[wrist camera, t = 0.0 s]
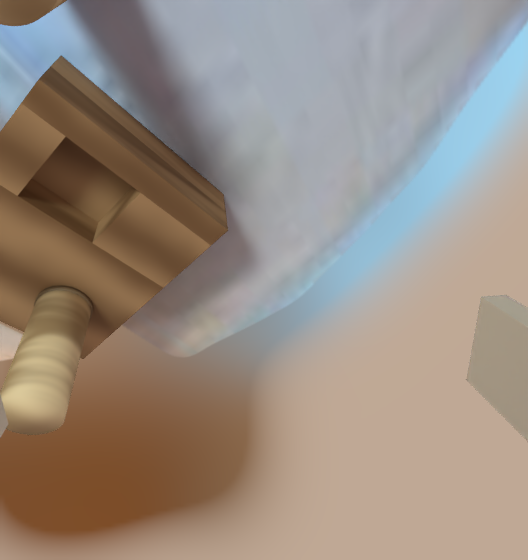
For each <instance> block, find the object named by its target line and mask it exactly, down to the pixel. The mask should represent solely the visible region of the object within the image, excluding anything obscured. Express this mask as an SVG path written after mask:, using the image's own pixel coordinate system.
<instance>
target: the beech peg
mask: <svg viewBox="0 0 528 560" xmlns="http://www.w3.org/2000/svg"><path fill="white" fill-rule="evenodd" d="M65 1H67V0H0V24H2V25H8V26H22V25H27V24H30V23H32V22H35V21H36V20H38V19H40V18H41V17H43V16H44V15H46V14H47V13H49V12H50V11H52V10H53V9H55V8H56V7H58V6H59V5H61V4H62V3H64V2H65Z"/></svg>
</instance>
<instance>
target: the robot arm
mask: <svg viewBox="0 0 528 560" xmlns="http://www.w3.org/2000/svg"><path fill="white" fill-rule="evenodd" d="M467 381H468V382H469V383H470V384H471V385H472V386H473V387H474V388H475V389H476V390H477V391H478V392H479V393H480V394H481V395H482V396H483V397H484V398H485V399H486V400H487V401H488V402H489V403H490V404H491V405H492V406H493V407H494V408H495V409H496V410H497V411H498V412H499V413H500V414H501V415H502V416H503V417H504V418H505V419H506V420H507V421H508V422H509V423H510V424H511V425H512V426H513V427H514V428H515V429H516V430H517V431H518V432H519V433H520V434H521V435H522V436H523V437H524V438H525V439H526V440H527V441H528V308H527V307H526V306H524V305H522V304H521V303H519V302H517V301H516V300H514V299H512V298H510V297H509V296H507V295H500V296H487V297H481V301H480V306H479V312H478V318H477V323H476V329H475V334H474V340H473V346H472V351H471V357H470V363H469V368H468V374H467ZM7 426H8V420H7V417H6V413H5V409H4V406H3V402H2V398H1V395H0V437H1V435H2V434H3V432H4V430H5V429H6V427H7Z"/></svg>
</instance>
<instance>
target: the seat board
mask: <svg viewBox="0 0 528 560" xmlns="http://www.w3.org/2000/svg"><path fill="white" fill-rule="evenodd" d="M227 231H228V226H227V218H226V211H225V203H224V195H223V194H222V193H221V192H220V191H219V190H218V189H217V188H215V187H214V186H213V185H212V184H211V183H210V182H208V181H207V180H206V179H205V178H204V177H203V176H201V175H200V174H199V173H198V172H197V171H196V170H194V169H193V168H192V167H191V166H190V165H189V164H187V163H186V162H185V161H184V160H183V159H182V158H180V157H179V156H178V155H177V154H176V153H175V152H173V151H172V150H171V149H170V148H169V147H168V146H166V145H165V144H164V143H163V142H162V141H161V140H159V139H158V138H157V137H156V136H155V135H154V134H152V133H151V132H150V131H149V130H148V129H147V128H145V127H144V126H143V125H142V124H141V123H139V122H138V121H137V120H136V119H135V118H134V117H132V116H131V115H130V114H129V113H128V112H127V111H125V110H124V109H123V108H122V107H121V106H120V105H118V104H117V103H116V102H115V101H114V100H113V99H111V98H110V97H109V96H108V95H107V94H106V93H104V92H103V91H102V90H101V89H100V88H99V87H97V86H96V85H95V84H94V83H93V82H92V81H90V80H89V79H88V78H87V77H86V76H85V75H83V74H82V73H81V72H80V71H79V70H78V69H76V68H75V67H74V66H73V65H72V64H71V63H69V62H68V61H67V60H66V59H65V58H64V57H62V56H60V57H59V58H58V59H57V60H56V61H55V62H54V64H53V65H52V66H51V67H50V68H49V69H48V70H47V71H46V72H45V73H44V74H43V75H42V76H41V77H40V79H39V80H38V81H37V82H36V84H35V85H34V87H33V88H32V89H31V91H30V92H29V93H28V95H27V96H26V97H25V99H24V100H23V102H22V103H21V104H20V106H19V107H18V108H17V110H16V111H15V113H14V114H13V115H12V117H11V118H10V119H9V121H8V122H7V123H6V125H5V126H4V128H3V129H2V130H1V132H0V321H1V322H3V323H6V324H8V325H10V326H12V327H14V328H17V329H19V330H21V331H23V332H24V334H23V336H22V339H21V341H20V344H19V346H18V349H17V351H16V354H15V356H14V359H13V361H12V364H11V366H10V369H9V371H8V374H7V376H6V379H5V382H4V384H3V386H2V389H1V392H0V395H1V398H2V402H3V406H4V409H5V413H6V417H7V420H8V426H7V427H6V429H7V430H9V431H12V432H16V433H20V434H27V435H39V434H45V433H49V432H52V431H54V430H56V429H58V428H59V427H61V426H62V424H63V423H64V420H65V416H66V412H67V408H68V404H69V400H70V396H71V392H72V388H73V384H74V380H75V376H76V372H77V368H78V364H79V360H80V358H82V359H84V358H85V357H86V356H87V355H88V354H89V353H91V352H92V351H93V350H94V349H95V348H96V347H97V346H98V345H100V344H101V343H102V342H103V341H104V340H105V339H106V338H107V337H109V336H110V335H111V334H112V333H113V332H114V331H115V330H116V329H118V328H119V327H120V326H121V325H122V324H123V323H124V322H125V321H127V320H128V319H129V318H130V317H131V316H132V315H133V314H134V313H136V312H137V311H138V310H139V309H140V308H141V307H142V306H143V305H145V304H146V303H147V302H148V301H149V300H150V299H151V298H152V297H154V296H155V295H156V294H157V293H158V292H159V291H160V290H162V289H163V288H164V287H165V286H166V285H167V284H168V283H169V282H171V281H172V280H173V279H174V278H175V277H176V276H177V275H178V274H180V273H181V272H182V271H183V270H184V269H185V268H186V267H187V266H189V265H190V264H191V263H192V262H193V261H194V260H195V259H196V258H198V257H199V256H200V255H201V254H202V253H203V252H204V251H205V250H207V249H208V248H209V247H210V246H211V245H212V244H213V243H214V242H216V241H217V240H218V239H219V238H220V237H221V236H222V235H223V234H225V233H226V232H227Z"/></svg>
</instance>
